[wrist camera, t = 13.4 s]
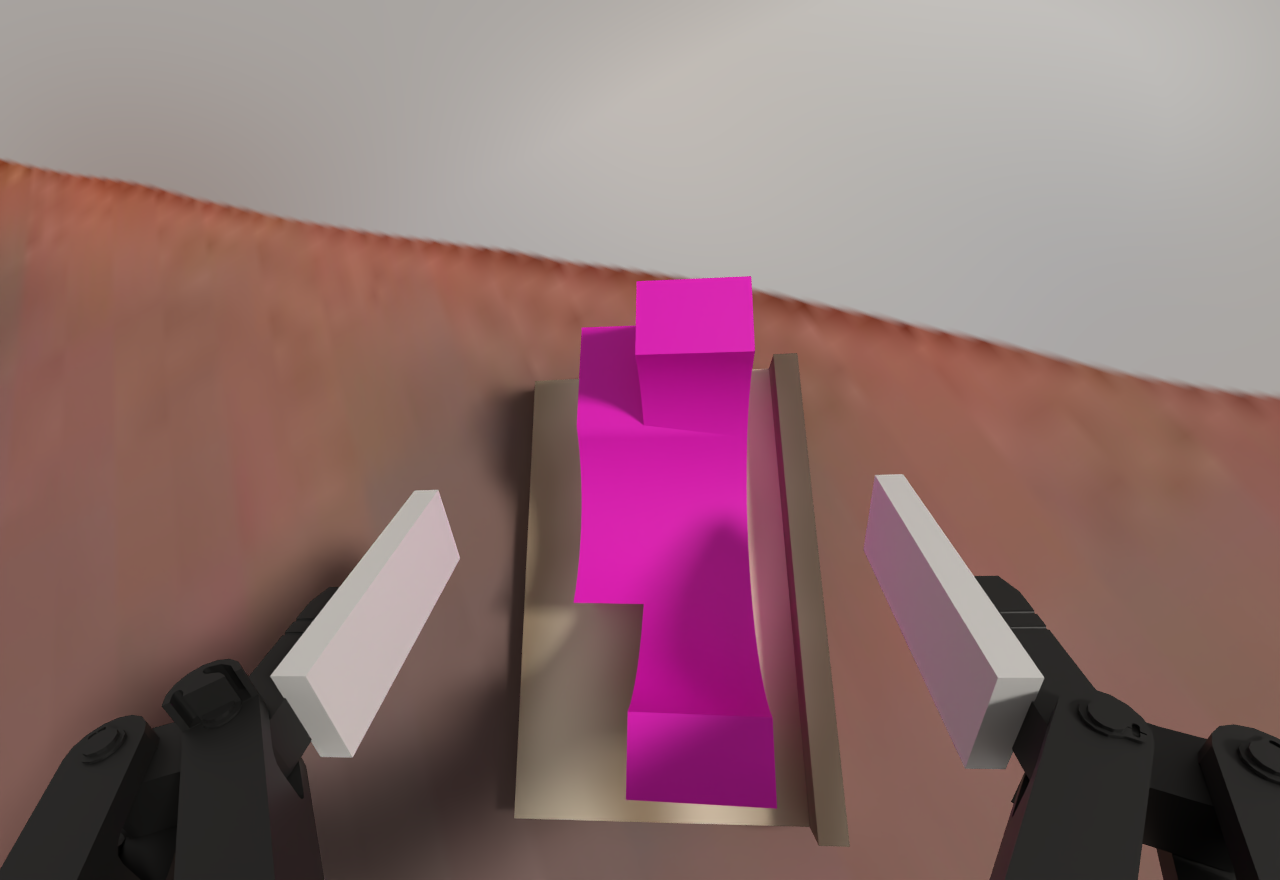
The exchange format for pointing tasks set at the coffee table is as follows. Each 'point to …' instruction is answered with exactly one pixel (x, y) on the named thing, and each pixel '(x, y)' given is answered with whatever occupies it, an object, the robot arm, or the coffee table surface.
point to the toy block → (678, 536)
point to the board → (611, 633)
